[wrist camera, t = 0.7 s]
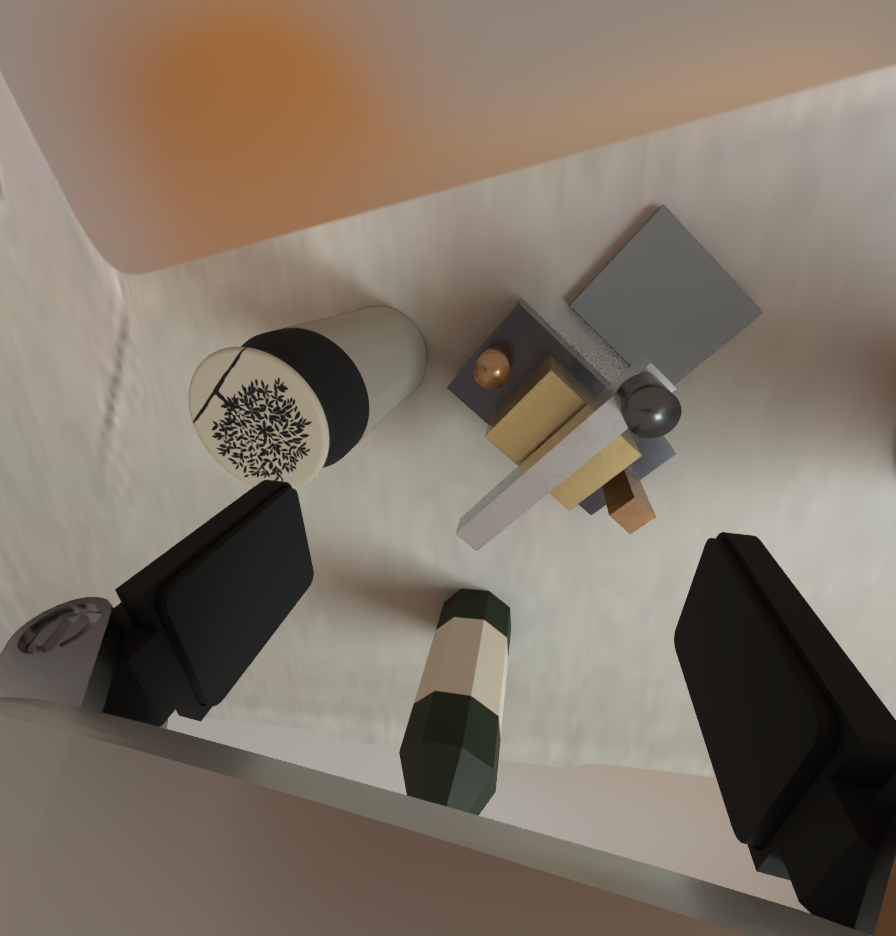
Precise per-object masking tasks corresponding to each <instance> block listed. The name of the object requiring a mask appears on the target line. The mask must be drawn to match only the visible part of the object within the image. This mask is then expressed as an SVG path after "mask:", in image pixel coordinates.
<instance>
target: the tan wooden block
mask: <svg viewBox="0 0 896 936" xmlns="http://www.w3.org/2000/svg"><path fill="white" fill-rule="evenodd" d="M594 398H595V396H594V395H593V394H592V393H590V392H589V391H588V390H587V389H586V388H585V387H584V386H583V385H582V384H581V383H580V382H579V381H578V380H577V379H576V378H575V377H574V376H573V375H571V374H570V373H569V372H568V371H567V370H566V369H565V368H564V367H563V366H562V365H561V364H560V363H559V362H558V361H557V360H556V359H555V358H554V357H552V356H551V355H549V356H548V357H547V358H546V359H545V360H544V361H543V362H542V363H541V364H540V365H539V366H538V367H537V368H536V369H535V370H534V371H533V372H532V373H531V374H530V375H529V376H528V377H527V378H526V379H525V380H524V381H523V383H522V384H521V385H520V386H519V387H518V388H517V389H516V390H515V391H514V392H513V393H512V394H511V395H510V396H509V397H508V398H507V399H506V400H505V401H504V402H503V403H502V404H501V405H500V406H499V407H498V408H497V409H496V410H495V411H494V412H493V415H492V418H491V421H490V423H489V426H488V429H487V432H486V435H485V437H486V438H487V439H488V440H490V441H491V442H492V443H493V444H494V445H495V446H496V447H498V448H499V449H500V450H501V451H502V452H503V453H504V454H505V455H507V456H508V457H509V458H510V459H511V460H512V461H513V462H515V463H516V464H517V465H518V466H519V465H520V464H522V463H523V462H524V461H525V460H526V459H527V458H528V457H529V456H531V455H532V454H533V453H534V452H535V451H536V450H537V449H538V448H539V447H541V446H542V445H543V444H544V443H545V442H546V441H547V440H548V439H550V438H551V437H552V436H553V435H554V434H555V433H556V432H557V431H558V430H560V429H561V428H562V427H563V426H564V425H565V424H566V423H567V422H568V421H570V420H571V419H572V418H573V417H574V416H575V415H576V414H577V413H579V412H580V411H581V410H582V409H583V408H584V407H585V406H586V405H587V404H589V403H590V402H591V401H592V400H593V399H594ZM641 456H642V455H641V453H640V451H639V449H638V447H637V445H636V443H635V441H634V439H633V437H632V435H631V433H630V431H629V429H627V430H625V431H624V432H623V433H622V434H621V435H619V436H618V437H617V438H616V439H614V440H613V441H612V442H611V443H609V444H608V445H607V446H606V447H605V448H603V449H602V450H601V451H600V452H598V453H597V454H596V455H595V456H593V457H592V458H591V459H590V460H588V461H587V462H586V463H585V464H584V465H582V466H581V467H580V468H579V469H577V470H576V471H575V472H574V473H572V474H571V475H570V476H569V477H567V478H566V479H565V480H564V481H563V482H561V483H560V484H559V485H558V486H556V487H555V488H554V489H553V490H551V491H550V492H549V493H550V494H551V495H552V496H553V497H555V498H556V499H557V500H558V501H559V502H560V503H561V504H562V505H564V506H565V507H566V508H567V509H568V510H571V509H572V508H573V507H575V506H576V505H577V504H579V503H580V502H581V501H583V500H584V499H585V498H587V497H588V496H589V495H591V494H592V493H593V492H595V491H596V490H597V489H599V488H600V487H601V486H603V485H604V484H605V483H606V482H608V481H609V480H610V479H612V478H613V477H614V476H616V475H617V474H618V473H620V472H621V471H622V470H624V469H625V468H626V467H628V466H629V465H630V464H632V463H633V462H634V461H636V460H637V459H638V458H640V457H641Z"/></svg>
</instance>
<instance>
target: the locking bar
mask: <svg viewBox="0 0 896 936" xmlns="http://www.w3.org/2000/svg"><path fill="white" fill-rule="evenodd" d="M676 389H677V388H676V387H675V386H674V385H673V384H672V383H671V382H670V381H669V380H668V379H667V378H666V377H665V376H664V375H663V374H662V373H661V372H660V371H659V370H658V369H657V368H656V367H655V366H654V365H653V364H652V363H651V362H650V361H649V360H647V359H646V358H645V357H644V356H643V355H642V356H641V357H640V358H639V359H638V360H637V361H635V362H634V363H633V364H632V365H631V366H630V367H629V368H628V369H627V370H625V371H624V372H623V373H622V374H621V375H620V376H619V377H618V378H617V379H615V380H614V381H613V382H612V383H611V384H610V385H609V386H608V387H606V388H605V389H604V390H603V391H602V392H601V393H600V394H599V395H598V396H596V397H595V398H594V399H593V400H592V401H591V402H590V403H589V404H587V405H586V406H585V407H584V408H583V409H582V410H581V411H580V412H579V413H577V414H576V415H575V416H574V417H573V418H572V419H571V420H570V421H568V422H567V423H566V424H565V425H564V426H563V427H562V428H561V429H560V430H558V431H557V432H556V433H555V434H554V435H553V436H552V437H551V438H550V439H548V440H547V441H546V442H545V443H544V444H543V445H542V446H541V447H539V448H538V449H537V450H536V451H535V452H534V453H533V454H532V455H531V456H529V457H528V458H527V459H526V460H525V461H524V462H523V463H522V464H520V465H519V466H518V467H517V468H516V469H515V470H514V471H513V472H512V473H510V474H509V475H508V476H507V477H506V478H505V479H504V480H503V481H501V482H500V483H499V484H498V485H497V486H496V487H495V488H494V489H493V490H491V491H490V492H489V493H488V494H487V495H486V496H485V497H484V498H482V499H481V500H480V501H479V502H478V503H477V504H476V505H475V506H474V507H472V508H471V509H470V510H469V511H468V512H467V513H466V514H465V515H464V516H462V517H461V519H460V522H459V525H458V528H457V531H456V535H458V536H459V537H460V538H461V539H463V540H464V541H465V542H466V543H467V544H469V545H470V546H471V547H472V548H474V549H475V550H476V551H477V550H479V549H480V548H481V547H482V546H484V545H485V544H486V543H487V542H488V541H490V540H491V539H492V538H493V537H495V536H496V535H497V534H498V533H500V532H501V531H502V530H503V529H505V528H506V527H507V526H508V525H509V524H511V523H512V522H513V521H514V520H516V519H517V518H518V517H519V516H521V515H522V514H523V513H524V512H526V511H527V510H528V509H529V508H530V507H532V506H533V505H534V504H535V503H537V502H538V501H539V500H540V499H542V498H543V497H544V496H545V495H546V494H548V493H549V492H550V491H551V490H553V489H554V488H555V487H556V486H558V485H559V484H560V483H561V482H563V481H564V480H565V479H566V478H567V477H569V476H570V475H571V474H572V473H574V472H575V471H576V470H577V469H579V468H580V467H581V466H582V465H584V464H585V463H586V462H587V461H588V460H590V459H591V458H592V457H593V456H595V455H596V454H597V453H598V452H600V451H601V450H602V449H603V448H605V447H606V446H607V445H608V444H609V443H611V442H612V441H613V440H614V439H616V438H617V437H618V436H619V435H621V434H622V433H623V432H624V431H625V430H627V429H628V428H629V430H630V431H631V432H632V433H634V434H635V435H637V436H639V437H642V438H657V437H660V436H663V435H665V434H667V433H668V432H670V431H671V430H672V429H673V428H674V427H675V426H676V425H677V423H678V421H679V419H680V416H681V405H680V402H679V401H678V399H677V398H676V397H675V396H674V395H673V394H672V392H674V391H675V390H676Z"/></svg>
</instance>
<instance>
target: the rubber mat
mask: <svg viewBox="0 0 896 936" xmlns="http://www.w3.org/2000/svg"><path fill="white" fill-rule="evenodd" d="M570 307H571V308H572V309H573V310H574V311H575V312H576V313H578V314H579V315H580V316H581V317H582V318H583V319H584V320H585V321H586V322H587V323H588V324H589V325H590V326H591V327H592V328H593V329H594V330H595V331H596V332H597V333H598V334H599V335H600V336H601V337H602V338H603V339H604V340H605V341H606V342H607V343H608V344H609V345H610V346H611V347H612V348H613V349H614V350H615V351H616V352H617V353H618V354H619V355H620V356H621V357H622V358H623V359H624V360H625V361H627V362H628V363H629V364H630V365H632V364H633V363H634V362H635V361H637V360H638V359H639V358H640V357H641V356H642V355H643V356H644V357H645V358H646V359H647V360H649V361H650V362H651V363H652V364H653V365H654V366H655V367H656V368H657V369H658V370H659V371H660V372H661V373H662V374H663V375H664V376H665V377H666V378H667V379H668V380H669V381H670V382H671V383H672V384H673V385H675V384H676V383H677V382H678V381H679V380H681V379H682V378H683V377H684V376H686V375H687V374H688V373H689V372H690V371H692V370H693V369H694V368H695V367H697V366H698V365H699V364H700V363H701V362H703V361H704V360H705V359H706V358H708V357H709V356H710V355H711V354H712V353H714V352H715V351H716V350H717V349H719V348H720V347H721V346H722V345H723V344H725V343H726V342H727V341H728V340H730V339H731V338H732V337H733V336H734V335H736V334H737V333H738V332H739V331H741V330H742V329H743V328H744V327H745V326H747V325H748V324H749V323H750V322H751V321H753V320H754V319H755V318H756V317H758V316H759V315H760V314H761V313H762V311H761V310H760V308H759V307H758V306H757V305H756V304H755V303H754V302H753V301H752V300H751V299H750V298H749V297H748V295H747V294H746V293H745V292H744V291H743V290H742V289H741V288H740V287H739V286H738V285H737V284H736V282H735V281H734V280H733V279H732V278H731V277H730V276H729V275H728V274H727V273H726V272H725V271H724V270H723V268H722V267H721V266H720V265H719V264H718V263H717V262H716V261H715V260H714V259H713V258H712V257H711V255H710V254H709V253H708V252H707V251H706V250H705V249H704V248H703V247H702V246H701V245H700V244H699V242H698V241H697V240H696V239H695V238H694V237H693V236H692V235H691V234H690V233H689V232H688V231H687V230H686V228H685V227H684V226H683V225H682V224H681V223H680V222H679V221H678V220H677V219H676V218H675V217H674V215H673V214H672V213H671V212H670V211H669V210H668V209H667V208H666V207H665V206H664V205H663V206H661V207H660V208H659V209H658V210H657V211H656V212H655V213H654V214H653V215H652V217H651V218H650V219H649V220H648V221H647V222H646V223H645V224H644V225H643V226H642V227H641V228H640V229H639V231H638V232H637V233H636V234H635V235H634V236H633V237H632V238H631V239H630V240H629V241H628V242H627V243H626V244H625V246H624V247H623V248H622V249H621V250H620V251H619V252H618V253H617V254H616V255H615V256H614V257H613V258H612V260H611V261H610V262H609V263H608V264H607V265H606V266H605V267H604V268H603V269H602V270H601V271H600V272H599V273H598V275H597V276H596V277H595V278H594V279H593V280H592V281H591V282H590V283H589V284H588V285H587V286H586V287H585V289H584V290H583V291H582V292H581V293H580V294H579V295H578V296H577V297H576V298H575V299H574V300H573V301H572V303H571V304H570Z"/></svg>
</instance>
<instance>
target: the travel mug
mask: <svg viewBox="0 0 896 936" xmlns="http://www.w3.org/2000/svg"><path fill="white" fill-rule="evenodd" d="M426 363H427V354H426V348H425V344H424V341H423V338H422V336H421V334H420V332H419V330H418V329H417V327H416V326H415V325H414V324H413V323H412V321H411V320H410V319H408V318H407V317H406V316H405V315H403V314H402V313H400V312H398V311H396V310H394V309H391V308H387V307H379V306H377V307H369V308H365V309H361V310H357V311H353V312H349V313H345V314H341V315H336V316H332V317H328V318H324V319H320V320H316V321H312V322H308V323H304V324H299V325H295V326H291V327H287V328H283V329H279V330H275V331H271V332H267V333H263V334H260V335H257V336H255V337H253V338H251V339H249V340H248V341H247V342H245V343H244V344H243V345H242V346H241V347H230V348H225V349H221V350H219V351H216V352H214V353H213V354H211V355H209V356H208V357H207V358H205V359H204V360H203V361H202V362H201V363H200V365H199V366H198V367H197V369H196V371H195V373H194V374H193V377H192V380H191V384H190V389H189V407H190V413H191V417H192V421H193V424H194V427H195V429H196V431H197V434H198V435H199V437H200V439H201V441H202V443H203V444H204V446H205V447H206V449H207V450H208V452H209V453H210V454H211V455H212V456H213V458H214V459H215V460H216V461H217V462H218V463H219V464H220V465H221V466H222V467H223V468H224V469H226V470H227V471H228V472H229V473H231V474H232V475H234V476H235V477H237V478H238V479H240V480H242V481H244V482H245V483H248V484H250V485H252V486H256V485H257V484H259V483H260V482H261V481H263V480H275V481H283V482H288V483H290V485H291V486H292V488H293V489H296V488H299V487H302V486H304V485H306V484H307V483H309V482H310V481H311V480H313V479H314V478H315V477H316V476H317V475H318V473H319V472H320V471H321V469H322V468H324V467H327V466H330V465H332V464H334V463H336V462H337V461H339V460H340V459H341V458H343V457H344V456H345V455H346V454H347V453H348V452H349V451H350V450H351V449H352V448H353V447H354V446H355V445H356V444H357V443H358V442H360V441H361V440H362V439H363V438H364V437H365V436H366V435H367V434H368V433H369V432H370V431H371V430H372V429H373V428H374V427H375V426H376V425H377V424H378V423H379V422H381V421H382V420H383V419H384V418H385V417H386V416H387V415H388V414H389V413H390V412H391V411H392V410H393V409H394V408H395V407H396V406H397V405H398V404H399V403H400V402H402V401H403V400H404V399H405V398H406V397H407V396H408V395H409V394H410V393H411V392H412V391H413V390H414V389H415V388H416V387H417V386H418V385H419V383H420V382H421V380H422V378H423V376H424V373H425V369H426Z"/></svg>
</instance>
